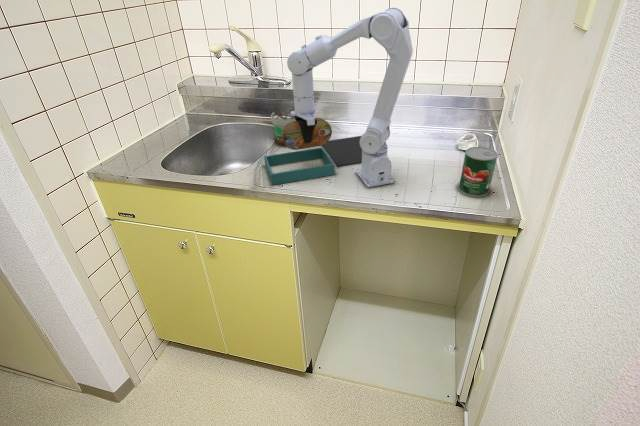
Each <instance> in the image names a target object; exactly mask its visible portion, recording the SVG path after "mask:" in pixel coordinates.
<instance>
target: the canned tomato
mask: <svg viewBox="0 0 640 426" xmlns="http://www.w3.org/2000/svg"><path fill="white" fill-rule="evenodd" d="M498 156H499V154H498V152H497V151H496V150H494V149H492V148H489V147H485V146H479V147H471V148H468V149H467V150H465V153H464V159H463V163H462V168H461V174H460V179H459V183H458V184H459V185H458V190H459V192H461V193H462V194H463V195H466V196H469V197H473V198H477V197H478V198H480V197H485V196H487V195H489V193H490V188H491V185H492V181H493V177H494V172H495V169H496V164H497V159H498Z"/></svg>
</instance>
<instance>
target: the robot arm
mask: <svg viewBox="0 0 640 426" xmlns="http://www.w3.org/2000/svg"><path fill="white" fill-rule="evenodd" d="M360 38H364V39H368V40H371V39H372V38H373V40H375V42H377V44H379V45H380V46H381V47H383V48H384V50H385V51H386V53H387V55H388V56H389V60H388V64H387V67H386V71H385V74H384V77H383V80H382V83H381V86H380V89H379V93H378V97H377V100H376V102H375V106H374V110H373V112H372V116H371V119H370V120H369V122H368V124H367V126H366V130H365V132H364V133H363V134H362V135H360V136H361V138H360V147H361V149H362V163H361V170H358V171H356V174H357V176H358V178H360V180H361V181H362V182H363V183H364V185H365V186H366V187H367V188H372V187H377V186H383V185H388V184H393V183H394V180H393V178H392V167H393V166H392V161H391V160H390V158H389V156H388V155H389V154H388V148H389V147H388V144H387V141H388V139H389V138H390V136H391V129H390V125H391V122H392V115H393V112H394V109H395V107H396V103H397V100H398V97H399V95H400V92H401V89H402V86H403V83H404V80H405V78H406V74H407V71H408V68H409V67H410V62H411V60H412V57H413V53H414V49H413V44H412V39H411V34H410V22H409V19H407V17H406V15H405V14H404V12H403V11H402V10H401V9H399V7H390V8H387V9H385V10H384V11H380V12H377V13H375V14H372V15H369V16H366V17H364V18H361V19H359V20H357V21H356V22H355V23H353V24H352V25H350V26H348V27H346V28H345V29H343V30H341V31H340V32H339V33H337V34H335V35H333V36H329V35H326V34H323V35H322V34H320V35H318V36H315V38H314V39H315V40H313V41H311V42H310V43H308V44H307V45H306V44H303V45H301V49H298V50H296V51H292V53H291V54H289V56H288V57H287V60H286V63H287V64H286V65H287V68H288V70H289V71H290V73H291V80H292V92H293V103H294V105H293V106H294V110H292V111H290V115H291V116H292V117H294V118H295V120H296V121H297V122H298V124H299V126H300V128H301V131H302V135H303V139H304V142H305V143H309V142H312V137H313V132H314V128H315V126H316V124H317V120H316V119H315V118H316V117H315V115H316V108H315V94H314V77H313V70H314V68H316V67H318V66H320V65H322V64H325V62H327V61H330V60H332V59H333V58H335V57H336V55H337V52H338V49H340V48H342V47H344V46H346V45H348V44H350V43H352V42H354V41H355V40H358V39H360Z"/></svg>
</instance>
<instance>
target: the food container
mask: <svg viewBox="0 0 640 426" xmlns="http://www.w3.org/2000/svg"><path fill="white" fill-rule="evenodd" d="M293 121H296V120H295V118H294V116H293V115H287V114H283V115H282V114H281V115H280V114H276V113H275V111H274V112H273V111H272V113H271V114H270V123H271V124H272V125H273V131H274V135H275V139H276V143H277V145H279V146H282V147H287V146H286V145H285V143H284V141H283V138H282V131H283V129H284V127H285V126H286V125H287V124H288V123H290V122H293Z"/></svg>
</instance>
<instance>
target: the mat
mask: <svg viewBox="0 0 640 426" xmlns="http://www.w3.org/2000/svg"><path fill="white" fill-rule="evenodd" d="M361 136H362V135H358V136H351V137H345V138H344V137H343V138H338V139H331V140H329V141H328V142H327V143H326V144H324V145H322V146H321V147H323V149H324V150H325V152H326V153H327V155H328V156H329V157H330V159H331V160H332V162H333V163H334V165H335V166H336V167H337V168H340V167H344V166H345V167H346V166H351V165H356V164H357V165H358V164H362V149H361V147H360V138H361Z"/></svg>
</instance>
